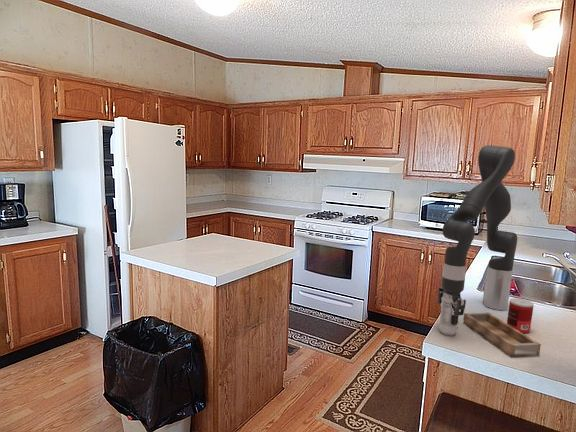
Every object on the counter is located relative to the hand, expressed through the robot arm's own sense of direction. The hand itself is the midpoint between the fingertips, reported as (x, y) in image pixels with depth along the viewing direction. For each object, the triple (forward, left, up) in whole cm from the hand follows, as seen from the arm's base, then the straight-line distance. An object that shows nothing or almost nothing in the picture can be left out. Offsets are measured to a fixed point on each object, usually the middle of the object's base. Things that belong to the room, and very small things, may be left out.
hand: (448, 320), depth 145 cm
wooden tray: (+6, +16, -5) cm, 18 cm away
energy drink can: (0, 0, -5) cm, 5 cm away
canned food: (0, +29, -5) cm, 29 cm away
